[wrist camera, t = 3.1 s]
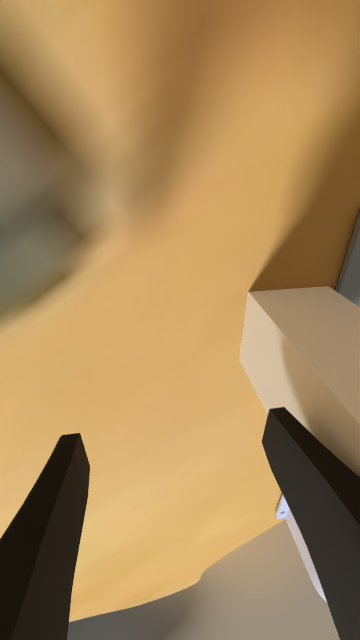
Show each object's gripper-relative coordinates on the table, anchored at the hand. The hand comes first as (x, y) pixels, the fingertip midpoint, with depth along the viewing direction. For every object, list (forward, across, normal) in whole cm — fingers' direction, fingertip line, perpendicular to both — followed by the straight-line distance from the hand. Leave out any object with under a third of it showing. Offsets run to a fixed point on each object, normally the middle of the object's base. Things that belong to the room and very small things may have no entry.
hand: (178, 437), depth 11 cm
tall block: (+7, -8, 0) cm, 10 cm away
